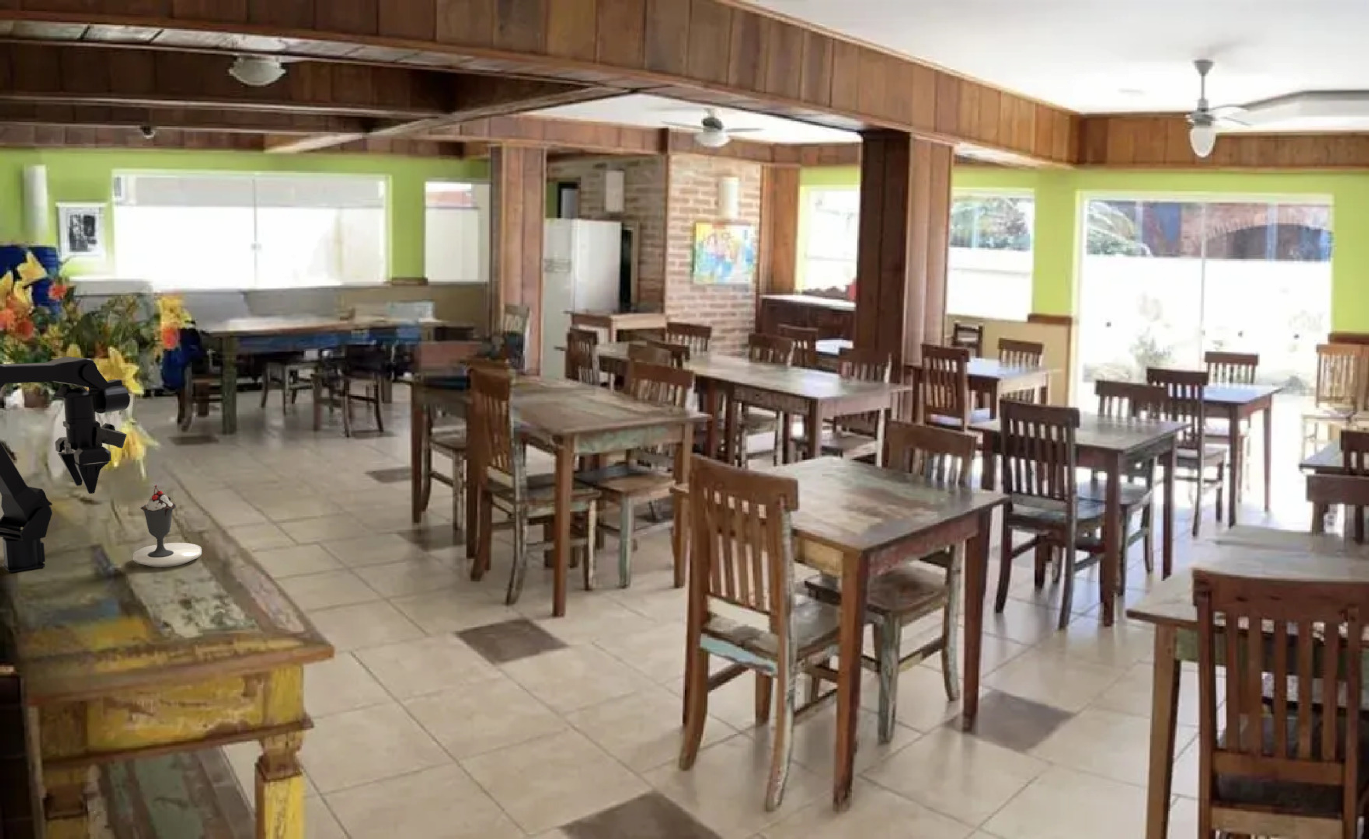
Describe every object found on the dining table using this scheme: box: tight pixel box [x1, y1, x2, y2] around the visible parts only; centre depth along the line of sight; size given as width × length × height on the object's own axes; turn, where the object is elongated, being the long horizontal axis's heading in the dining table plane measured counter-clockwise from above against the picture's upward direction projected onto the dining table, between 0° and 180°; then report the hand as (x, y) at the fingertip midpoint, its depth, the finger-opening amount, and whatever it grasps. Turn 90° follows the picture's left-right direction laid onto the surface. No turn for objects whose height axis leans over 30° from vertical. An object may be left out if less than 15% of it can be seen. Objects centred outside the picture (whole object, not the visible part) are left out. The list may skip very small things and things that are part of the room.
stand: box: [132, 542, 202, 568], centre depth 248 cm, size 13×13×2 cm
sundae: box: [140, 484, 177, 558], centre depth 244 cm, size 7×7×15 cm
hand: (85, 489), depth 253 cm, fingers open, 9 cm apart
